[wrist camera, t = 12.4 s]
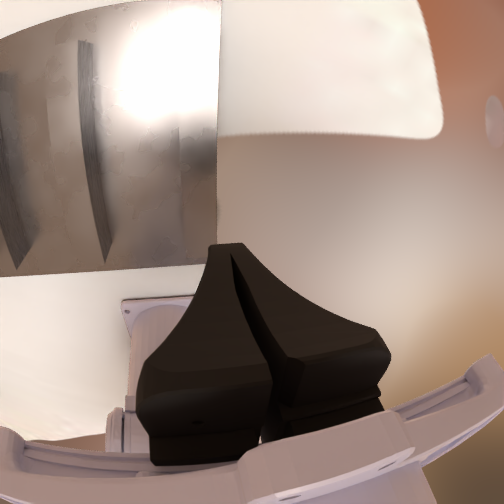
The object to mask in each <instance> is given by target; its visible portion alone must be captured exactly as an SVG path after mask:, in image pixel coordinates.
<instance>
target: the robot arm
mask: <svg viewBox="0 0 504 504" xmlns="http://www.w3.org/2000/svg"><path fill="white" fill-rule="evenodd" d="M121 310H122V313H123V316H124V319H125V322H126V325H127V328H128V331H129V334H130V337H131V351H130V363H129V377H128V395H126V398H125V412H123V408H118V407H116V408H115V409H114V411H112V412H111V413H109V414H108V417H107V424H106V443H105V444H106V445H105V446H106V448H105V449H106V452H103V451H90V450H80V449H72V448H65V447H57V446H52V445H46V444H41V443H35V442H30V441H26V440H24V439H23V438H22V437H21V436H20V435H19V434H18V433H16V432H15V431H13V430H11V429H9V428H6V427H2V426H0V498H2V499H4V500H7V501H9V502H11V503H13V504H437V503H436V500H435V498H434V496H433V493H432V491H431V489H430V486H429V484H428V482H427V480H426V478H425V476H424V473H423V471H422V469H421V468H422V467H423V466H425V465H427V464H429V463H430V462H432V461H434V460H435V459H437V458H439V457H440V456H442V455H444V454H445V453H447V452H448V451H450V450H451V449H453V448H454V447H456V446H457V445H459V444H460V443H462V442H463V441H465V440H466V439H468V438H469V437H470V436H472V435H473V434H475V433H476V432H477V431H479V430H480V429H481V428H483V427H484V426H485V425H487V424H488V423H489V422H490V421H491V420H492V419H494V418H495V417H496V416H497V415H498V414H499V413H500V412H501V411H502V410H503V409H504V371H503V369H502V368H501V367H500V365H499V364H498V362H497V361H496V360H495V359H494V357H493V356H492V354H491V353H489V354H487V355H485V356H484V357H482V358H480V359H478V360H477V361H475V362H474V363H473V364H472V365H471V366H470V367H469V368H468V369H467V371H466V372H465V374H464V375H463V376H461V377H459V378H457V379H455V380H453V381H451V382H449V383H447V384H445V385H443V386H441V387H439V388H437V389H435V390H432V391H430V392H428V393H426V394H424V395H421V396H419V397H417V398H415V399H412V400H410V401H407V402H405V403H403V404H400V405H398V406H395V407H392V408H390V409H387V410H384V408H383V406H382V404H381V402H380V400H379V398H378V397H380V396H381V391H380V390H379V388H378V386H377V384H378V382H379V381H380V379H381V378H382V376H383V375H384V373H385V371H386V370H387V368H388V366H389V364H390V361H391V353H390V351H389V349H388V348H387V346H386V344H385V342H384V341H383V339H382V338H381V336H380V335H379V333H378V332H377V331H376V330H375V329H374V328H371V327H368V326H364V325H362V324H359V323H355V322H353V321H350V320H347V319H345V318H343V317H340V316H338V315H336V314H333V313H331V312H329V311H327V310H325V309H323V308H321V307H320V306H318V305H316V304H314V303H312V302H311V301H309V300H307V299H305V298H304V297H302V296H301V295H299V294H298V293H297V292H295V291H293V290H292V289H291V288H289V287H288V286H287V285H285V284H284V283H283V282H282V281H280V280H279V279H278V278H277V277H276V276H274V275H273V274H272V273H271V272H270V271H269V270H268V269H267V268H266V267H265V266H264V265H263V264H262V263H261V262H260V261H259V260H258V259H257V258H256V257H255V256H254V255H253V254H252V253H251V252H250V251H249V249H248V248H247V247H246V246H245V245H244V244H243V243H231V244H215V245H210V246H209V247H208V258H207V262H206V266H205V269H204V272H203V276H202V278H201V281H200V283H199V286H198V288H197V290H196V293H195V295H194V296H189V297H175V298H161V299H145V300H127V301H123V302H122V303H121ZM127 310H129V311H127ZM260 436H261V441H262V443H261V444H258V443H259V438H260Z"/></svg>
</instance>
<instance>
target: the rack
mask: <svg viewBox="0 0 504 504" xmlns="http://www.w3.org/2000/svg"><path fill="white" fill-rule="evenodd" d="M221 6H222V0H141V1H134V2H127V3H120V4H115V5H109V6H104V7H99V8H94V9H90V10H85V11H81V12H77V13H74V14H70V15H66V16H63V17H59V18H56V19H53V20H50V21H46V22H43V23H40V24H38V25H35V26H32V27H29V28H27V29H24V30H21V31H19V32H16V33H14V34H11V35H9V36H7V37H4V38H2V39H0V277H12V276H29V275H46V274H62V273H78V272H93V271H108V270H123V269H138V268H152V267H167V266H181V265H194V264H206V262H207V258H208V247H209V246H210V245H215V244H217V199H216V174H217V173H216V171H217V169H216V167H217V166H216V163H217V104H218V72H219V47H220V27H221V24H220V23H221Z"/></svg>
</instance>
